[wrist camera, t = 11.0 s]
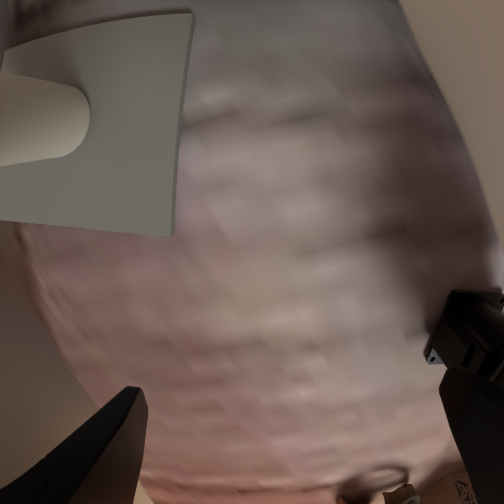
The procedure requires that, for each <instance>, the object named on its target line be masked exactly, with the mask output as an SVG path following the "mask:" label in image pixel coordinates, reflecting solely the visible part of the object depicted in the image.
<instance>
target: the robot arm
mask: <svg viewBox="0 0 504 504" xmlns="http://www.w3.org/2000/svg"><path fill="white" fill-rule="evenodd" d="M456 295H457V296H456ZM455 296H456V298H455V299H454V297H455ZM503 307H504V295H503V294H502V293H489V292H476V291H463V290H454V291H452V292H451V293H450V295H449V297H448V300H447V303H446V306H445V309H444V312H443V315H442V318H441V320H440V323H439V326H438V328H437V331H436V334H435V336H434V339H433V341H432V344H431V346H430V348H429V351H428V353H427V356H426V361H427V363H428V364H444V365H445V366H446V368H447V370H446V372H445V375H444V377H443V379H442V381H441V384H440V386H439V394H440V397H441V400H442V403H443V406H444V410H445V413H446V416H447V419H448V423H449V426H450V429H451V432H452V435H453V437H454V440H455V442H456V445H457V447H458V450H459V452H460V455H461V458H462V460H463V463H464V466H465V468H466V471H467V474H468V477H469V480H470V483H471V485H472V488H473V491H474V494H475V498H476V501H477V504H504V314H503V313H502V309H503ZM432 357H433V358H432ZM147 419H148V406H147V403H146V400H145V396H144V393H143V390H142V389H141V388H140V387H133V386H127V387H125V388H124V389H123V390H122V391H120V392H119V393H118V394H117V395H116V396H115V397H114V398H112V399H111V400H110V401H109V402H108V403H107V404H106V405H104V406H103V407H102V408H101V409H100V410H99V411H97V412H96V413H95V414H94V415H93V416H92V417H91V418H89V419H88V420H87V421H86V422H85V423H84V424H82V425H81V426H80V427H79V428H78V429H77V430H76V431H74V432H73V433H72V434H71V435H70V436H68V437H67V438H66V439H65V440H64V441H63V442H61V443H60V444H59V445H58V446H57V447H56V448H54V449H53V450H52V451H51V452H50V453H48V454H47V455H46V456H45V458H42V459H41V460H40V461H39V462H38V463H36V464H35V465H34V466H33V467H31V468H30V469H29V470H28V471H26V472H25V473H24V474H22V475H21V476H20V477H18V478H17V479H15V480H14V481H12V482H11V483H9V484H8V485H6V486H5V487H3V488H1V489H0V504H133V501H134V496H135V491H136V487H137V482H138V478H139V474H140V470H141V466H142V461H143V453H144V444H145V436H146V427H147Z"/></svg>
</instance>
